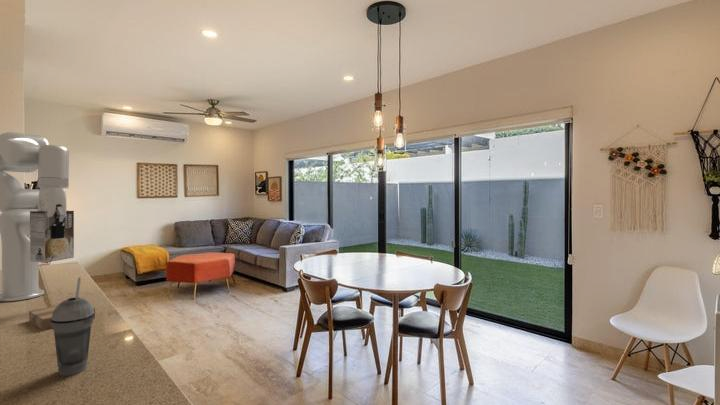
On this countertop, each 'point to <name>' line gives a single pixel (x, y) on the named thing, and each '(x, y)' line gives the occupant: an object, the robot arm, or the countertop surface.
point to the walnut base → (43, 317)
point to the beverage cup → (72, 333)
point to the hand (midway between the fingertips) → (52, 236)
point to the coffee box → (41, 238)
